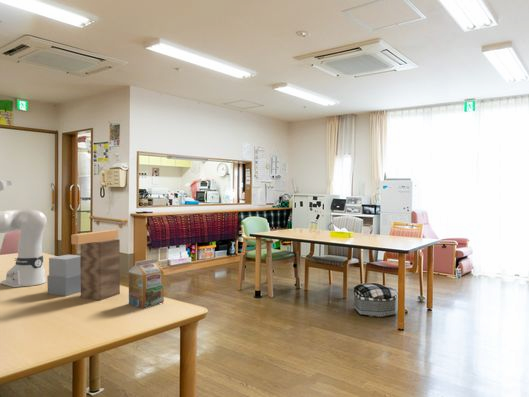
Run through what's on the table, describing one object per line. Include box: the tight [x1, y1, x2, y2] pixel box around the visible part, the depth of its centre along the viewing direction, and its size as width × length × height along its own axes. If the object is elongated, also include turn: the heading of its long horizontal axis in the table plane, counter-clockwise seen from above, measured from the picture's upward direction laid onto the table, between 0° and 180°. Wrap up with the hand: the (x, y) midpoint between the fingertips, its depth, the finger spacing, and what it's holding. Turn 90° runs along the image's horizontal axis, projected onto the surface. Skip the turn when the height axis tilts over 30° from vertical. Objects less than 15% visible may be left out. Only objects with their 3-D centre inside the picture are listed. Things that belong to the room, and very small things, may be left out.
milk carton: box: [128, 258, 165, 309], centre depth 175 cm, size 11×11×19 cm
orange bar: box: [70, 229, 119, 246], centre depth 185 cm, size 4×24×4 cm, turn 158°
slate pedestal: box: [46, 254, 81, 297], centre depth 194 cm, size 12×12×17 cm
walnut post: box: [79, 238, 121, 301], centre depth 187 cm, size 12×12×26 cm
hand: (4, 182), depth 161 cm, fingers open, 8 cm apart
